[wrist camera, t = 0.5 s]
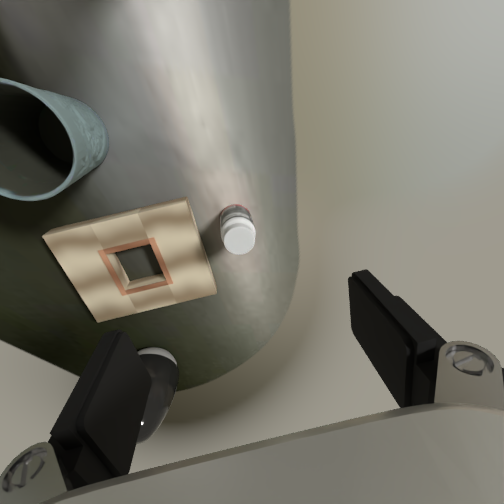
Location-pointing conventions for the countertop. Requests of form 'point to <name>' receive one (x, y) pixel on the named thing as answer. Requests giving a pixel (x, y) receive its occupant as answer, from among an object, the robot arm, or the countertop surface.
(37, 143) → the blue green cup
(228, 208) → the pill bottle
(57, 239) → the socket plate
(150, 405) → the dark rounded oval
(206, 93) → the countertop surface
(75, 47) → the countertop surface
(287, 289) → the countertop surface
